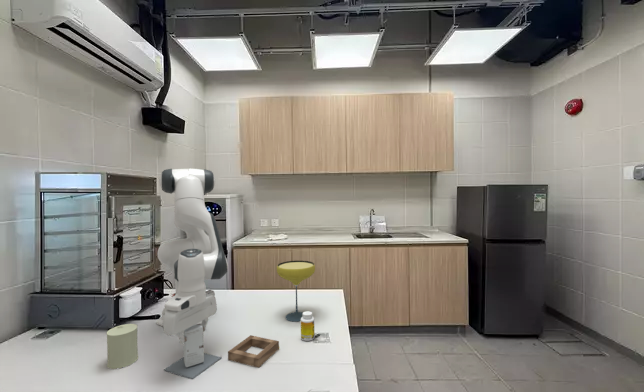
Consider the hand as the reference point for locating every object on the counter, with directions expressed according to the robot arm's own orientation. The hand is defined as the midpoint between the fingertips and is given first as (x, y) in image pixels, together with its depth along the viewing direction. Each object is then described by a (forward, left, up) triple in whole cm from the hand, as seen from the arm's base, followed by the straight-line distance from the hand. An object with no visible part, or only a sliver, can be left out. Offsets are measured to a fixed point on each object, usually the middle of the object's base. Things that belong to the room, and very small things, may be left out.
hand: (193, 336), depth 102 cm
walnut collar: (+16, +13, -10) cm, 23 cm away
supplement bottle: (+29, +31, -10) cm, 44 cm away
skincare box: (0, 0, -9) cm, 9 cm away
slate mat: (0, 0, -10) cm, 10 cm away
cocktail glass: (+15, +48, -10) cm, 51 cm away
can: (-25, -8, -10) cm, 28 cm away
